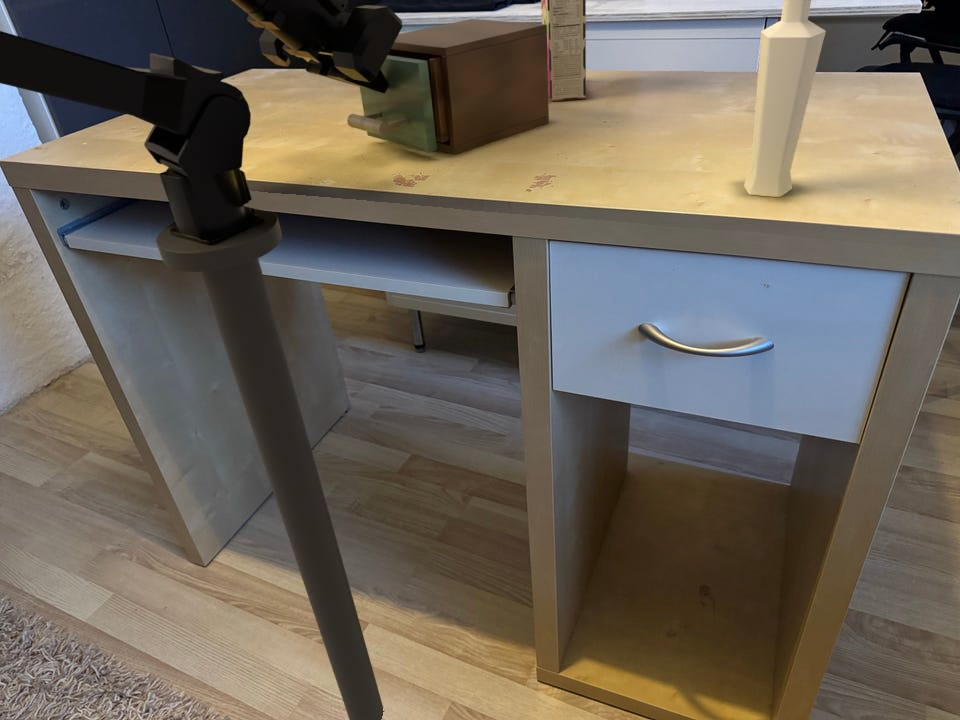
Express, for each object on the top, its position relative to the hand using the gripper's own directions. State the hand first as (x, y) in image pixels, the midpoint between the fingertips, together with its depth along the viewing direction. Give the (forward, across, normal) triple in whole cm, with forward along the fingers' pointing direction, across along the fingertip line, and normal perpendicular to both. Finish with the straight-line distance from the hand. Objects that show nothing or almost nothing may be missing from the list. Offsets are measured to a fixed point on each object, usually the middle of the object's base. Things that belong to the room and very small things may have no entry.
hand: (385, 88), depth 72 cm
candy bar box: (+27, +3, -17) cm, 31 cm away
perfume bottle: (+14, -37, -4) cm, 40 cm away
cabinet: (+12, 0, -3) cm, 13 cm away
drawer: (+8, 0, +1) cm, 8 cm away
